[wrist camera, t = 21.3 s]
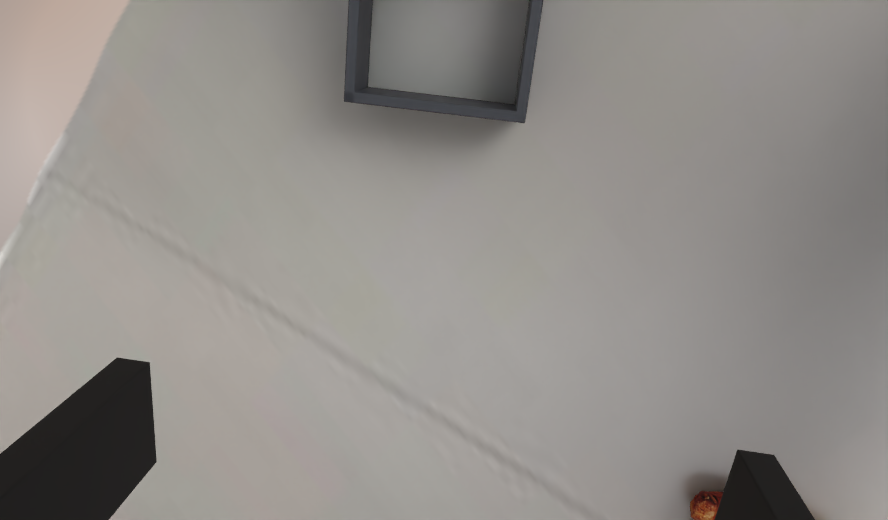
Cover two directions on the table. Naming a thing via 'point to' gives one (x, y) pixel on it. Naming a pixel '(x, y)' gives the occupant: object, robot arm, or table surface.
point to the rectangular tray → (425, 102)
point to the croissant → (705, 505)
